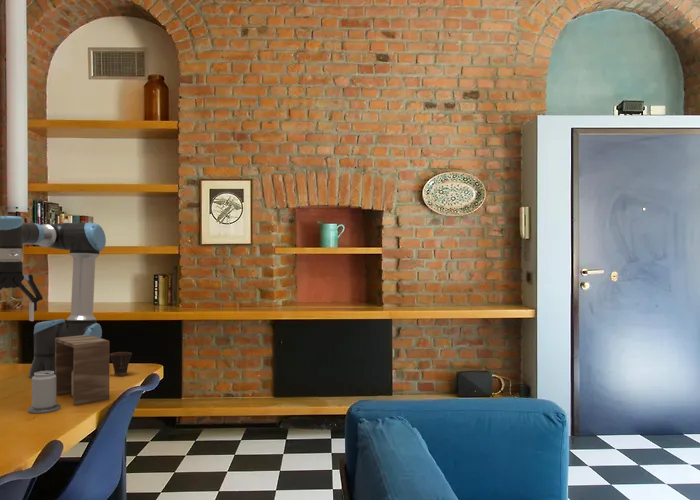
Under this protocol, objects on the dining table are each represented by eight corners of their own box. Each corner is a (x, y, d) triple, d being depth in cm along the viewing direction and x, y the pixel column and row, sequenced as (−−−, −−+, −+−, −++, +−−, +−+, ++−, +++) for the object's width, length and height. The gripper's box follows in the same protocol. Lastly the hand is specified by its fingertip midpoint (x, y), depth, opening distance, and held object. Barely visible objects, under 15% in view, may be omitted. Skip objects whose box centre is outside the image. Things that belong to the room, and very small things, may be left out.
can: (61, 405, 207) (61, 370, 207) (44, 411, 200) (44, 375, 199) (44, 403, 209) (44, 369, 209) (26, 409, 202) (26, 373, 202)
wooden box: (54, 395, 222) (55, 338, 222) (88, 390, 231) (88, 334, 231) (74, 405, 209) (74, 344, 208) (109, 399, 217) (109, 340, 217)
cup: (101, 374, 254) (105, 351, 255) (118, 373, 262) (122, 350, 262) (116, 378, 250) (119, 353, 250) (133, 376, 257) (136, 353, 258)
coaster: (23, 409, 204) (23, 407, 204) (54, 403, 211) (54, 401, 211) (33, 415, 197) (33, 413, 197) (65, 409, 204) (65, 407, 204)
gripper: (-29, 261, 196) (-29, 326, 197) (52, 260, 214) (52, 320, 214) (-35, 261, 202) (-35, 324, 202) (45, 260, 219) (44, 318, 220)
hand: (10, 322), depth 208 cm, fingers open, 13 cm apart
